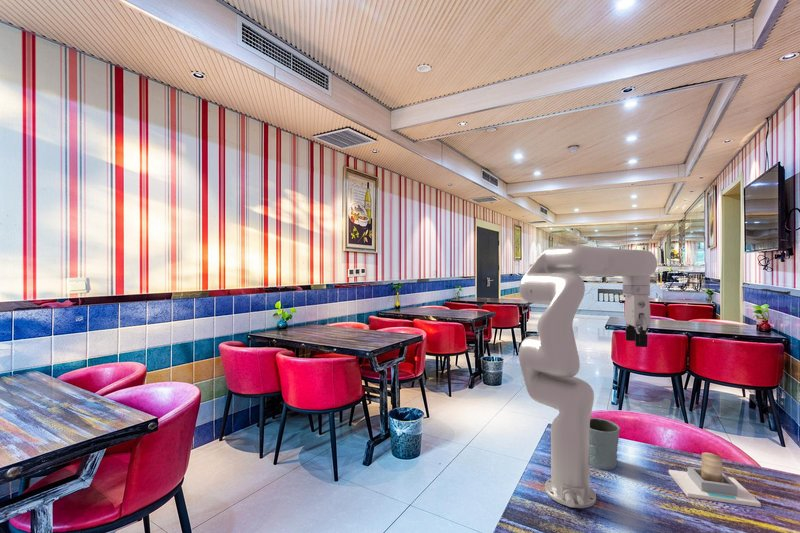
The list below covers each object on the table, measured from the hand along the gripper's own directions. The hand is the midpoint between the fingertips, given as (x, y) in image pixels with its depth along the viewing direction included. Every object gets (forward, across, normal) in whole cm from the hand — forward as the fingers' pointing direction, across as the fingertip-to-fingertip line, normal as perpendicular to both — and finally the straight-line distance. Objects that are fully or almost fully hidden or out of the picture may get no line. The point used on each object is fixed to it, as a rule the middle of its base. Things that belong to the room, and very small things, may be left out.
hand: (636, 343), depth 122 cm
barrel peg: (+35, -15, -14) cm, 41 cm away
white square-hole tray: (+36, -15, -14) cm, 42 cm away
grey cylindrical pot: (+36, -8, +12) cm, 39 cm away
